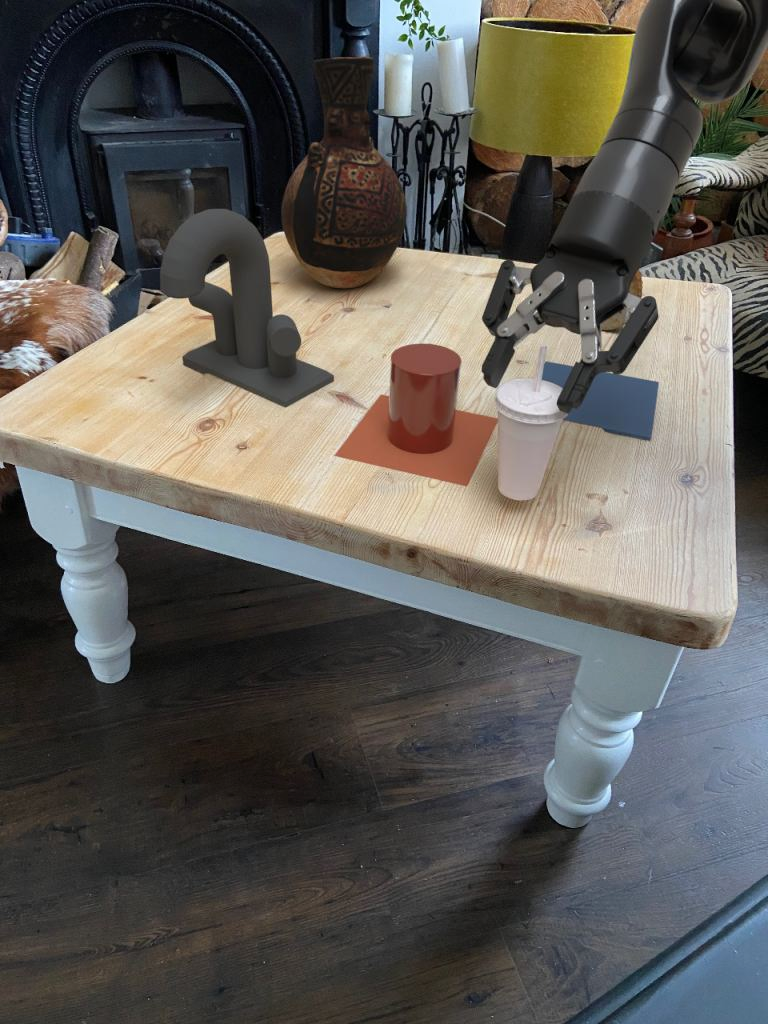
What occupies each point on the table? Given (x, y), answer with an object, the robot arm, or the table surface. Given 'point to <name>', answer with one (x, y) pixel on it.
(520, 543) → the table surface
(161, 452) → the table surface
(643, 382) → the blue mat
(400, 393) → the canister
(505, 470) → the smoothie
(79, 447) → the table surface
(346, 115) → the ceramic vessel
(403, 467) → the terracotta mat
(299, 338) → the faucet
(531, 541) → the table surface
